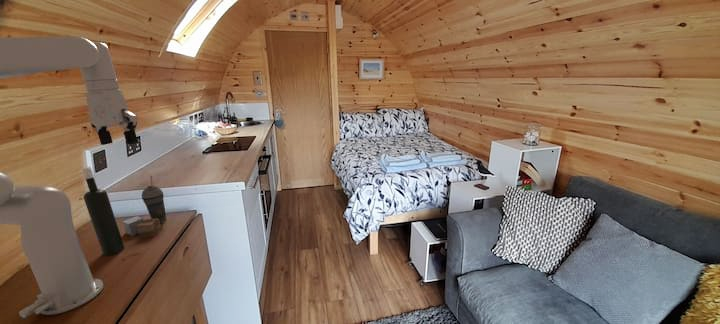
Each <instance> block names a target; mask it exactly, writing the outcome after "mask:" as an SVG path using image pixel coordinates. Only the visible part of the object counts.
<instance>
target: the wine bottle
mask: <svg viewBox="0 0 720 324" xmlns="http://www.w3.org/2000/svg"><path fill="white" fill-rule="evenodd" d="M81 169H82V174H83V176H84V177H83V178H84V179H85V181H86V183H87V184H86V185H87V187H88V191H87V192H86V193H84V195H83V200H84V203H85V207H86V209H87V212H88V215H89V217H90V220H91V223H92V226H93V229H94V232H95V235H96V238H97V241H98V244H99V246H100V250H101V252H102V254H103V256H106V257H108V256H113V255H116V254H119V253H120V252H122V251H123V250H125V245H124V242H123V239H122V236H121V233H120V230H119V226H118V223H117V220H116V217H115V214H114V211H113V208H112V204H111V200H110V198H109V195H108V192H107V191H106V190H105V189H99V188H98V187H97V183H96V180H95V176H94V173H93V170H92V168H91V166H85V167H82V168H81Z"/></svg>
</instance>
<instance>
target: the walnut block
mask: <svg viewBox="0 0 720 324" xmlns="http://www.w3.org/2000/svg"><path fill="white" fill-rule="evenodd" d="M161 224H162V223H161ZM161 224H160V221H159V218H156V219H151V218H147V219H144V221H142V222H141V223H140V224H138V225H137V228H138V232H139V233H138V235H139V237H140V238H150V237H149V236H153V237H155V236H156V235H158V234H159V233H160V232H161V231H162V230H163V229H162V225H161ZM160 230H161V231H160ZM159 231H160V232H159ZM158 232H159V233H158ZM157 233H158V234H157Z"/></svg>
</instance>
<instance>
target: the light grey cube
mask: <svg viewBox="0 0 720 324" xmlns="http://www.w3.org/2000/svg"><path fill="white" fill-rule="evenodd" d="M144 220H145V219H144V218H143V217H141V216H133V217H131V218H128V219H126V220H122V224H123V227H124V231H125V233H126V234H127V235H129V236H135V235H137V233H138V234H139V232H138V228H137V225H138V224H140V223H141V222H142V221H144Z"/></svg>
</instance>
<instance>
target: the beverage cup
mask: <svg viewBox="0 0 720 324" xmlns="http://www.w3.org/2000/svg"><path fill="white" fill-rule="evenodd" d="M149 178H150V179H149V180H150V186H147V187H145V188H144V189H143V191H142V193H141V199H142V202H143V203H144V204H145V207H146V209H147V212H148V214H149V216H150V219H156V218H159V221H160V223H161V224H163V223H162V222H164V221H165V222H166V221H167V216H166V215H167V214H166V208H165V202H164V192H163V190H162V189H161V188H160V187H159V186H156V185H154V184H153V175H149ZM165 222H164V223H165Z"/></svg>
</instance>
